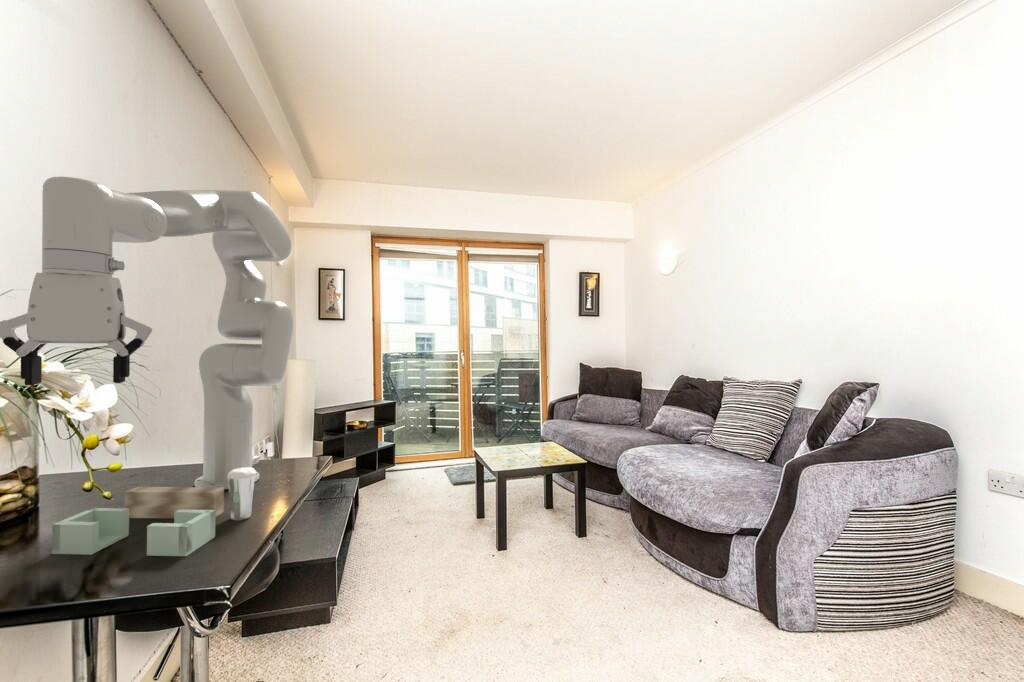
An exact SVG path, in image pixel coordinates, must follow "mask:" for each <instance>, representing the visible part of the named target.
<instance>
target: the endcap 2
mask: <svg viewBox="0 0 1024 682" xmlns="http://www.w3.org/2000/svg"><path fill="white" fill-rule="evenodd" d="M214 538H216V518H215V510H184V509H179V510H177V511H175V512H174V518H173V523H172V522H169V523H168V522H164V523H163V522H152V523H150V524H149V525H147V526H146V556H149V557H151V556H154V557H155V556H156V557H188V556H189V555H191V554H192V553H194V552H195V551H196V550H198V549H200V548H201V547H203V546H204V545H205V544H207V543H208V542H210V541H211V540H213V539H214Z"/></svg>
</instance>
